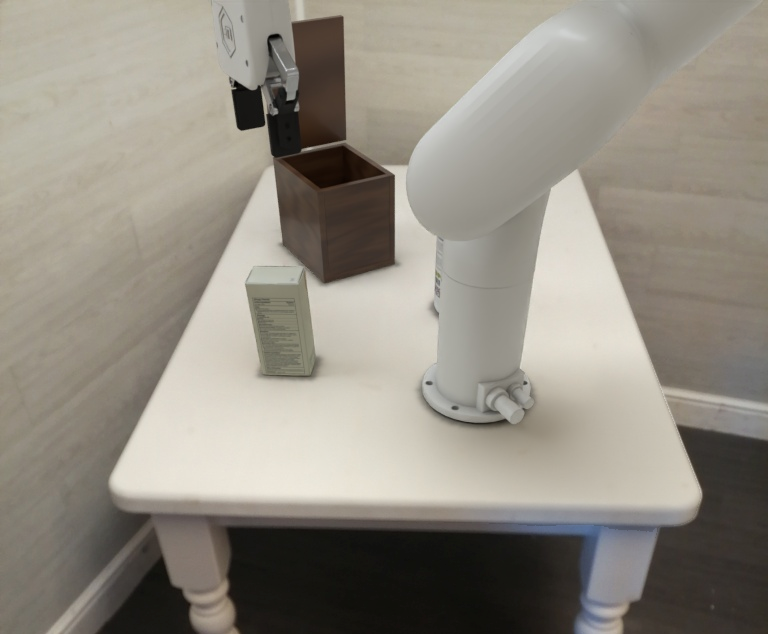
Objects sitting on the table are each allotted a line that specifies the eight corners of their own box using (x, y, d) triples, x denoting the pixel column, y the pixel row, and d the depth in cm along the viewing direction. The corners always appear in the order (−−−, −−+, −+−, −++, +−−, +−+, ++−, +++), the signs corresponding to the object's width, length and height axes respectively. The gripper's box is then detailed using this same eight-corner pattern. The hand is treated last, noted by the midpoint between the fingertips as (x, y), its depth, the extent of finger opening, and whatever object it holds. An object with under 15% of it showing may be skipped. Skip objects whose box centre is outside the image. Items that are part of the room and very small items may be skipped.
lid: (343, 16, 96) (326, 6, 99) (261, 27, 92) (245, 17, 95) (346, 140, 107) (330, 128, 110) (273, 154, 103) (259, 142, 106)
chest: (395, 264, 108) (395, 174, 99) (324, 283, 104) (317, 192, 95) (349, 227, 117) (345, 142, 108) (282, 243, 113) (272, 157, 104)
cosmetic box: (316, 357, 90) (308, 265, 82) (310, 377, 87) (301, 284, 79) (266, 355, 91) (252, 263, 82) (258, 375, 88) (243, 281, 79)
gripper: (173, -70, 69) (208, 124, 81) (238, -47, 58) (266, 173, 70) (247, -77, 71) (270, 113, 84) (322, -56, 61) (335, 159, 73)
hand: (268, 140), depth 77 cm, fingers open, 9 cm apart
